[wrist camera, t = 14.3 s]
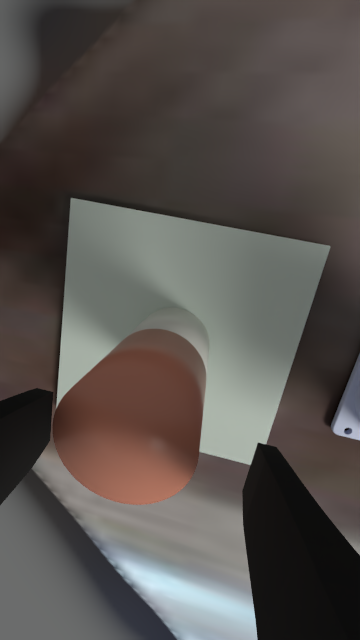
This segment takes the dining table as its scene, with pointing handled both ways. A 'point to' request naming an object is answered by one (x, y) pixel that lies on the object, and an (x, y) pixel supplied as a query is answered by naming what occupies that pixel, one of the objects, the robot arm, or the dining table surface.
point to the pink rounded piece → (135, 419)
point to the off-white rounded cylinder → (180, 328)
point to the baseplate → (192, 307)
